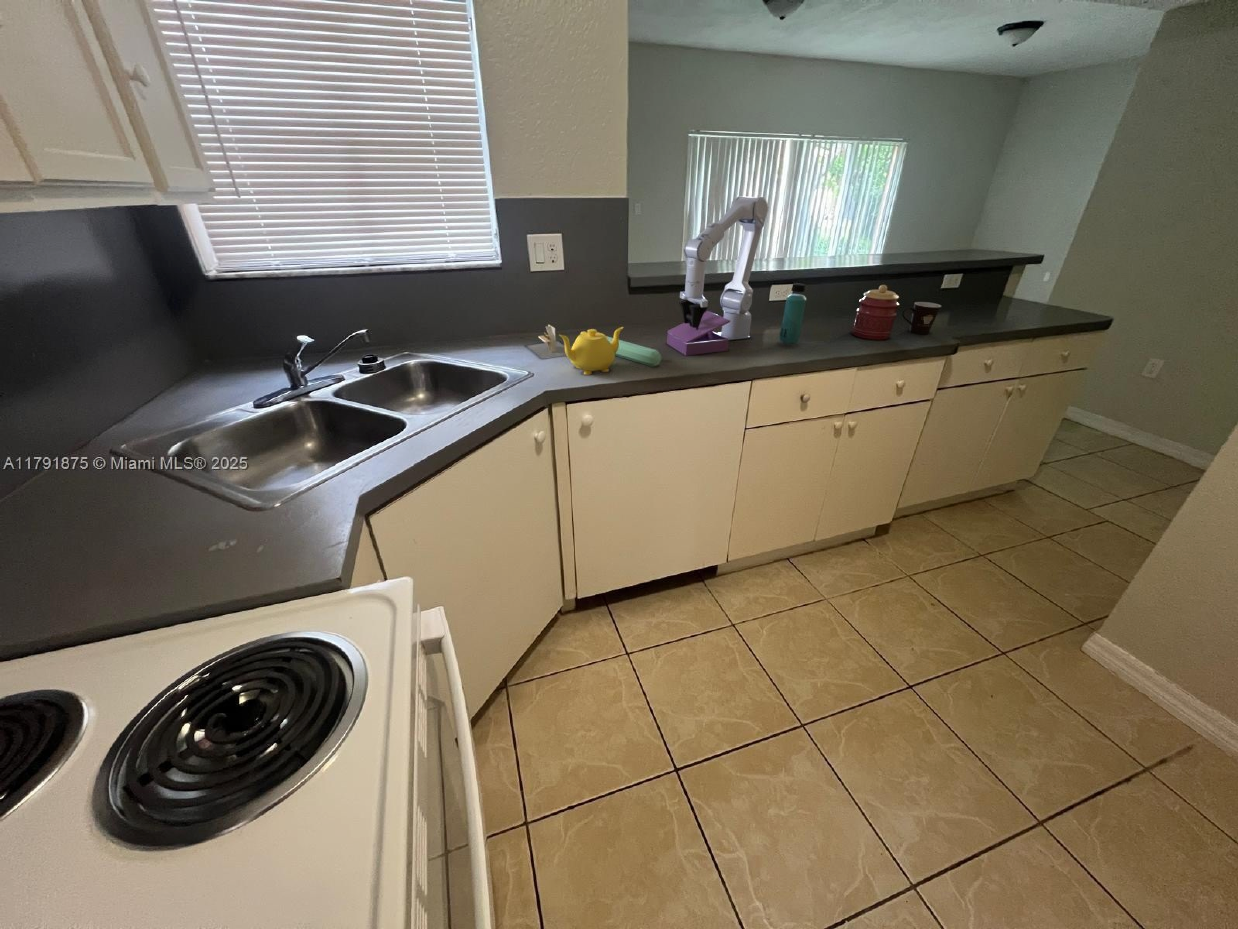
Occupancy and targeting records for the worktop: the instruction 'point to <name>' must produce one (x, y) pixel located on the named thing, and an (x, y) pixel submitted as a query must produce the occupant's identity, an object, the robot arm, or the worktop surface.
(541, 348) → the architectural model
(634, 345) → the container
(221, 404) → the worktop surface
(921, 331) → the coffee mug
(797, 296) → the beverage bottle
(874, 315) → the kitchen canister
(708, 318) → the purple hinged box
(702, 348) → the purple box base
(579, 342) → the teapot
